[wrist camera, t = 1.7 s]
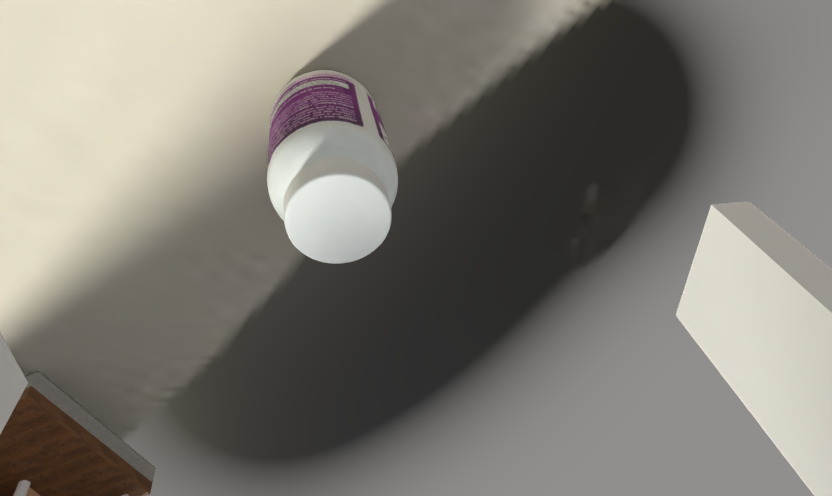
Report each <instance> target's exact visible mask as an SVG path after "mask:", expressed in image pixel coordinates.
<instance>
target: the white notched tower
mask: <svg viewBox="0 0 832 496" xmlns="http://www.w3.org/2000/svg"><path fill="white" fill-rule="evenodd" d="M25 378H26V380H27V381H28V384H27V386H26V388H25V390H24V391H23V393H22V395H21V397H20V399H19V401H18V403H17V404H16V406H15V408H14V410H13V412H12V414H11V416H10V417H9V419H8V421H7V423H6V425H5V427H4V429H3V430H2V432H1V434H0V496H146V495H148V494H150V491H151V486H152V482H153V477H154V473H155V467H154V466H153V465H151V464H150V463H149V462H147V461H146V460H145V459H144V458H143V457H141V456H140V455H139V454H138V453H137V452H136V451H134V450H133V449H132V448H131V447H130V446H128V445H127V444H126V443H125V442H123V441H122V440H121V439H120V438H119V437H117V436H116V435H115V434H114V433H113V432H111V431H110V430H109V429H108V428H106V427H105V426H104V425H103V424H102V423H100V422H99V421H98V420H97V419H96V418H94V417H93V416H92V415H91V414H90V413H88V412H87V411H86V410H85V409H83V408H82V407H81V406H80V405H79V404H77V403H76V402H75V401H74V400H73V399H71V398H70V397H69V396H68V395H67V394H65V393H64V392H63V391H62V390H60V389H59V388H58V387H57V386H56V385H54V384H53V383H52V382H51V381H50V380H48V379H47V378H46V377H45V376H43V375H42V374H41V373H40V372H39V371H37V372H35V373H33V374H30V375H28V376H26V377H25Z"/></svg>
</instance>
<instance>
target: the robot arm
mask: <svg viewBox="0 0 832 496" xmlns="http://www.w3.org/2000/svg"><path fill="white" fill-rule="evenodd" d="M676 316H677V318H678V319H679V320H680V322H681V323H682V324H683V325H684V327H685V328H686V329H687V331H688V332H689V333H690V335H691V336H692V337H693V338H694V340H695V341H696V342H697V344H698V345H699V346H700V348H701V349H702V350H703V352H704V353H705V354H706V355H707V357H708V358H709V359H710V361H711V362H712V363H713V364H714V366H715V367H716V368H717V370H718V371H719V372H720V374H721V375H722V376H723V378H724V379H725V380H726V381H727V383H728V384H729V385H730V387H731V388H732V389H733V390H734V392H735V393H736V394H737V396H738V397H739V398H740V399H741V401H742V402H743V404H744V405H745V406H746V407H747V409H748V410H749V411H750V413H751V414H752V415H753V417H754V418H755V419H756V420H757V422H758V423H759V424H760V426H761V427H762V428H763V430H764V431H765V432H766V433H767V435H768V436H769V437H770V439H771V440H772V441H773V443H774V444H775V445H776V446H777V448H778V449H779V450H780V451H781V453H782V454H783V456H784V457H785V458H786V459H787V461H788V462H789V463H790V464H791V466H792V467H793V469H794V470H795V471H796V472H797V473H798V475H799V476H800V478H801V479H802V480H803V481H804V483H805V484H806V485H807V487H808V488H809V489H810V491H811V492H812V493H813V495H814V496H832V269H831V268H830V267H828V266H827V265H826V264H825V263H824V262H822V261H821V260H820V259H819V258H818V257H816V256H815V255H814V254H813V253H811V252H810V251H809V250H808V249H806V248H805V247H804V246H803V245H802V244H800V243H799V242H798V241H797V240H795V239H794V238H793V237H792V236H791V235H789V234H788V233H787V232H786V231H784V230H783V229H782V228H781V227H780V226H778V225H777V224H776V223H775V222H773V221H772V220H771V219H769V217H767V216H766V215H765V214H764V213H762V212H761V211H760V210H759V209H758V208H756V207H755V206H754V205H753V204H751V203H750V202H737V203H726V204H713V205H711V207H710V211H709V214H708V217H707V220H706V223H705V226H704V229H703V232H702V235H701V239H700V242H699V245H698V248H697V251H696V254H695V257H694V260H693V263H692V266H691V269H690V272H689V276H688V279H687V282H686V285H685V288H684V291H683V294H682V297H681V301H680V303H679V307H678V310H677V313H676ZM27 384H28V381H27V380H26V378H25V376H24V374H23V372H22V371H21V369H20V367H19V365H18V363H17V362H16V360H15V358H14V356H13V354H12V353H11V351H10V349H9V347H8V345H7V344H6V342H5V340H4V338H3V336H2V335H1V333H0V434H1V432H2V430H3V429H4V427H5V425H6V423H7V421H8V419H9V417H10V416H11V414H12V412H13V410H14V408H15V406H16V404H17V403H18V401H19V399H20V397H21V395H22V393H23V391H24V390H25V388H26V386H27Z"/></svg>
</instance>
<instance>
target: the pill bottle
mask: <svg viewBox="0 0 832 496" xmlns="http://www.w3.org/2000/svg"><path fill="white" fill-rule="evenodd" d="M267 186H268V192H269V196H270V199H271V202H272V204H273V206H274V208H275V210H276V212H277V213H278V215H279V216H280V217H281V218H282V220H283V221H284V224H285V228H286V232H287V234H288V237H289V239H290V240H291V242H292V243H293V245H294V246H295V247H296V248H297V249H298V250H299V251H301V252H302V253H303V254H305V255H306V256H308V257H309V258H312V259H314V260H317V261H321V262H325V263H335V264H337V263H348V262H352V261H356V260H358V259H361V258H363V257H365V256H367V255H368V254H370V253H371V252H373V251H374V250H375V249H376V248H377V247H378V246H380V245H381V244H382V242H383V241H384V239H385V238H386V236H387V234H388V232H389V229H390V225H391V217H392V214H391V207H392V205H393V203H394V200H395V197H396V193H397V187H398V174H397V167H396V163H395V160H394V157H393V154H392V151H391V148H390V145H389V142H388V138H387V136H386V133H385V129H384V126H383V124H382V121H381V118H380V115H379V113H378V110H377V107H376V105H375V102H374V100H373V98H372V97H371V95H370V94H369V92H368V91H367V90H366V88H365V87H364V86H363V85H362V84H360V83H359V82H358V81H357V80H355V79H354V78H352V77H350V76H349V75H346V74H344V73H340V72H337V71H332V70H316V71H312V72H308V73H304V74H302V75H300V76H298V77H296V78H294V79H292V80H291V81H290V82H289V83H288V84H287V85H285V86H284V88H283V89H282V90H281V92H280V93H279V94H278V96H277V98H276V100H275V102H274V105H273V108H272V113H271V122H270V138H269V153H268V169H267Z"/></svg>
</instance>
